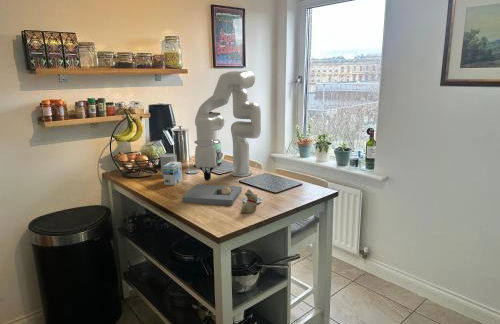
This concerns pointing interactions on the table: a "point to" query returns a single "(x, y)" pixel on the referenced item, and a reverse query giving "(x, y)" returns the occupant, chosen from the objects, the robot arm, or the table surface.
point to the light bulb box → (172, 173)
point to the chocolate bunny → (249, 202)
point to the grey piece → (167, 160)
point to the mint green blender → (217, 142)
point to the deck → (211, 195)
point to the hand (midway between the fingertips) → (207, 179)
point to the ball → (226, 191)
